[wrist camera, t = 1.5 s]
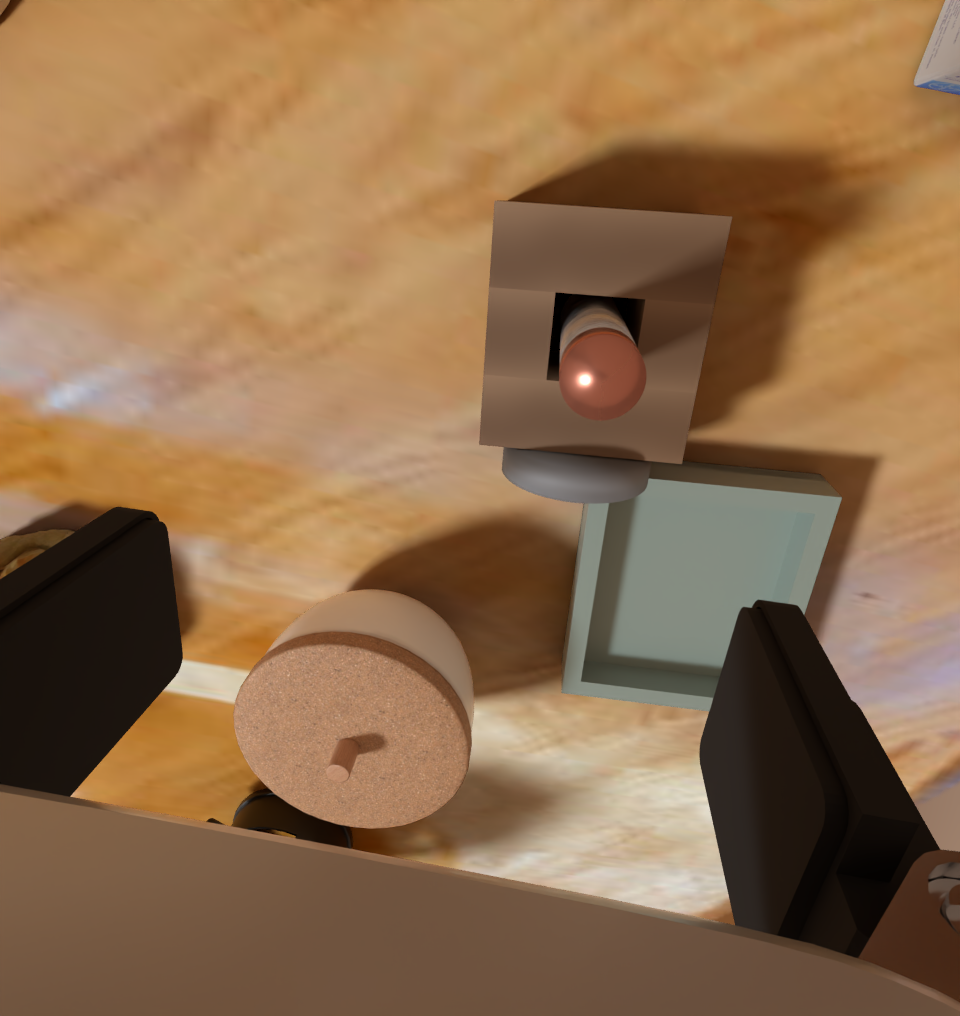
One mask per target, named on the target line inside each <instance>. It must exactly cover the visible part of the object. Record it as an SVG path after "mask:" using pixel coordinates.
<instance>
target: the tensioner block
mask: <svg viewBox="0 0 960 1016" xmlns="http://www.w3.org/2000/svg"><path fill="white" fill-rule="evenodd" d="M731 221H732V217H730V216H720V215H709V214H698V213H683V212H668V211H653V210H638V209H623V208H608V207H593V206H578V205H563V204H548V203H533V202H519V201H495V203H494V219H493V235H492V251H491V267H490V283H489V298H488V314H487V330H486V346H485V362H484V377H483V393H482V409H481V425H480V441H479V445H488V446H499V447H504V450H503V462H502V471H503V474H504V475H505V477H506V478H507V479H508V480H509V481H510V482H512V483H513V484H515V485H516V486H518V487H520V488H522V489H524V490H526V491H528V492H531V493H534V494H536V495H540V496H543V497H547V498H551V499H555V500H560V501H566V502H574V503H589V504H600V503H613V502H620V501H624V500H628V499H631V498H634V497H636V496H638V495H640V494H641V493H643V492H644V491H645V489H646V488H647V484H648V479H649V474H650V468H651V463H652V461H654V462H665V463H675V464H682V461H683V456H684V451H685V446H686V441H687V436H688V431H689V426H690V422H691V417H692V412H693V407H694V402H695V397H696V392H697V387H698V382H699V378H700V373H701V368H702V363H703V358H704V353H705V348H706V343H707V338H708V334H709V329H710V324H711V319H712V314H713V309H714V304H715V299H716V294H717V290H718V285H719V280H720V275H721V270H722V265H723V260H724V255H725V250H726V246H727V241H728V236H729V231H730V226H731ZM556 292H558V293H571V294H584V295H597V296H609V297H622V298H629V304H628V311H627V317H626V326H627V328H628V330H629V332H630V334H631V336H632V338H633V340H634V342H635V344H636V346H637V348H638V350H639V352H640V354H641V356H642V358H643V360H644V363H645V367H646V376H647V378H646V385H645V389H644V392H643V394H642V396H641V398H640V399H639V401H638V402H637V404H636V405H635V406H634V407H633V408H632V409H631V410H629V411H628V412H627V413H625V414H624V415H622V416H620V417H617V418H614V419H610V420H603V421H599V420H591V419H588V418H585V417H582V416H580V415H579V414H577V413H576V412H574V411H573V410H572V409H571V408H570V407H569V406H568V405H567V403H566V402H565V400H564V398H563V396H562V394H561V390H560V385H559V368H560V352H552V351H549V350H550V340H551V331H552V321H553V312H554V302H555V293H556Z"/></svg>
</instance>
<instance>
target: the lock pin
mask: <svg viewBox="0 0 960 1016" xmlns="http://www.w3.org/2000/svg"><path fill="white" fill-rule="evenodd" d="M646 378H647V376H646V367H645V363H644V360H643V358H642V356H641V354H640V352H639V350H638V348H637V346H636V344H635V342H634V340H633V338H632V336H631V334H630V332H629V330H628V328H627V326H626V324H625V322H624V320H623V318H622V316H621V314H620V312H619V310H618V308H617V306H616V304H615V302H614V300H613V299H612V298H611V297H609V296H597V295H584V294H573V295H572V296H571V297H570V298H569V299H568V300H567V301H566V303H565V304H564V307H563V309H562V313H561V332H560V368H559V385H560V390H561V394H562V396H563V398H564V400H565V402H566V403H567V405H568V406H569V407H570V408H571V409H572V410H573V411H574V412H576V413H577V414H579V415H580V416H582V417H585V418H588V419H591V420H599V421H603V420H610V419H614V418H617V417H620V416H622V415H624V414H625V413H627V412H628V411H629V410H631V409H632V408H633V407H634V406H635V405H636V404H637V402H638V401H639V399H640V398H641V396H642V394H643V392H644V389H645V385H646Z"/></svg>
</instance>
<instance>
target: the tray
mask: <svg viewBox="0 0 960 1016" xmlns="http://www.w3.org/2000/svg"><path fill="white" fill-rule="evenodd" d="M841 500H842V497H841V496H840V495H839V494H838V492H837V491H836V490H835V489H834V488H833V487H832V486H831V485H830V484H829V483H828V482H827V481H826V480H825V479H824V478H823V476H822V475H821V474H811V473H801V472H790V471H780V470H769V469H759V468H748V467H738V466H728V465H717V464H707V463H696V462H686V461H682V464H675V463H665V462H654V461H652V463H651V468H650V474H649V479H648V484H647V488H646V489H645V491H644V492H643V493H641V494H640V495H638V496H636V497H634V498H631V499H628V500H624V501H620V502H613V503H600V504H589V503H584V506H583V513H582V520H581V527H580V534H579V541H578V549H577V556H576V563H575V570H574V577H573V584H572V591H571V598H570V606H569V613H568V620H567V627H566V634H565V641H564V648H563V655H562V693H566V694H574V695H582V696H590V697H598V698H606V699H614V700H622V701H631V702H639V703H647V704H655V705H663V706H671V707H679V708H687V709H695V710H703V711H710V708H711V704H712V701H713V698H714V694H715V691H716V687H717V684H718V681H719V677H720V674H721V671H722V667H723V664H724V661H725V657H726V654H727V650H728V647H729V644H730V640H731V637H732V634H733V630H734V627H735V624H736V620H737V617H738V614H739V611H740V610H741V608H742V607H750V608H752V606H753V604H754V603H755V601H757V600H758V599H759V600H766V601H773V602H780V603H787V604H794V605H798V606H799V608H800V609H801V611H802V612H803V614H805V611H806V608H807V605H808V602H809V599H810V596H811V593H812V589H813V586H814V583H815V580H816V577H817V574H818V571H819V568H820V565H821V562H822V558H823V555H824V552H825V549H826V546H827V543H828V540H829V537H830V534H831V531H832V528H833V524H834V521H835V518H836V515H837V512H838V509H839V506H840V503H841Z"/></svg>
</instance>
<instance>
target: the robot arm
mask: <svg viewBox="0 0 960 1016" xmlns="http://www.w3.org/2000/svg"><path fill="white" fill-rule="evenodd" d="M9 2H10V0H0V15H1V14H2V12H3V11H4V10H5V8H6V7H7V5H8V4H9ZM182 658H183V652H182V643H181V635H180V627H179V619H178V611H177V603H176V595H175V587H174V579H173V570H172V562H171V554H170V546H169V538H168V531H167V527H166V525H165V524H164V523H163V522H160V521H159V519H158V517H157V516H156V514H154V513H153V512H151V511H144V510H137V509H130V508H123V507H115V508H113V509H111V510H109V511H108V512H106V513H105V514H103V515H101V516H100V517H98V518H97V519H95V520H93V521H92V522H90V523H89V524H87V525H85V526H84V527H82V528H81V529H79V530H78V531H76V532H74V533H73V534H71V535H70V536H68V537H66V538H65V539H63V540H62V541H60V542H58V543H57V544H55V545H54V546H52V547H50V548H49V549H47V550H46V551H44V552H43V553H41V554H39V555H38V556H36V557H35V558H33V559H31V560H30V561H28V562H27V563H25V564H23V565H22V566H20V567H19V568H17V569H16V570H14V571H12V572H11V573H9V574H8V575H6V576H4V577H3V578H1V579H0V1016H960V852H958V851H949V850H940V848H939V847H938V845H937V843H936V841H935V840H934V838H933V836H932V834H931V833H930V831H929V829H928V827H927V825H926V824H925V822H924V820H923V819H922V817H921V815H920V813H919V811H918V810H917V808H916V806H915V804H914V802H913V801H912V799H911V797H910V795H909V794H908V792H907V790H906V788H905V787H904V785H903V783H902V781H901V779H900V778H899V776H898V774H897V772H896V771H895V769H894V767H893V765H892V764H891V762H890V760H889V758H888V756H887V755H886V753H885V751H884V749H883V748H882V746H881V744H880V742H879V741H878V739H877V737H876V735H875V733H874V732H873V730H872V728H871V726H870V725H869V723H868V721H867V719H866V718H865V716H864V714H863V712H862V710H861V709H860V708H859V707H858V705H857V704H856V703H855V702H853V701H852V700H851V699H850V697H849V695H848V693H847V691H846V690H845V688H844V686H843V684H842V682H841V681H840V679H839V677H838V675H837V673H836V672H835V670H834V668H833V666H832V664H831V663H830V661H829V659H828V657H827V656H826V654H825V652H824V650H823V648H822V647H821V645H820V643H819V641H818V639H817V638H816V636H815V634H814V632H813V630H812V629H811V627H810V625H809V623H808V621H807V620H806V618H805V616H804V614H803V612H802V611H801V609H800V608H799V606H798V605H794V604H787V603H780V602H773V601H766V600H759V599H758V600H757V601H755V603H754V604H753V606H752V608H750V607H742V608H741V610H740V611H739V614H738V617H737V620H736V624H735V627H734V630H733V634H732V637H731V640H730V644H729V647H728V650H727V654H726V657H725V661H724V664H723V667H722V671H721V674H720V677H719V681H718V684H717V687H716V691H715V694H714V698H713V701H712V704H711V708H710V711H709V714H708V718H707V721H706V724H705V728H704V731H703V735H702V738H701V743H700V765H701V770H702V774H703V779H704V783H705V788H706V793H707V797H708V802H709V807H710V811H711V816H712V820H713V825H714V830H715V834H716V839H717V843H718V848H719V853H720V857H721V862H722V866H723V871H724V876H725V880H726V885H727V889H728V894H729V899H730V903H731V908H732V912H733V917H734V921H735V925H731V924H726V923H722V922H717V921H713V920H708V919H704V918H699V917H695V916H690V915H685V914H680V913H675V912H670V911H665V910H660V909H655V908H650V907H645V906H641V905H636V904H631V903H626V902H622V901H617V900H612V899H608V898H603V897H597V896H592V895H587V894H582V893H577V892H572V891H566V890H561V889H556V888H551V887H546V886H541V885H536V884H530V883H525V882H520V881H515V880H510V879H505V878H499V877H494V876H489V875H484V874H479V873H474V872H469V871H463V870H458V869H453V868H448V867H443V866H438V865H433V864H427V863H422V862H417V861H412V860H407V859H401V858H396V857H391V856H386V855H380V854H375V853H370V852H364V851H359V850H354V849H349V848H343V847H338V846H333V845H327V844H322V843H317V842H312V841H306V840H301V839H296V838H290V837H285V836H280V835H274V834H269V833H264V832H258V831H253V830H248V829H242V828H237V827H232V826H226V825H221V824H215V823H210V822H205V821H199V820H194V819H189V818H183V817H178V816H173V815H167V814H162V813H156V812H151V811H145V810H140V809H134V808H129V807H123V806H118V805H112V804H107V803H101V802H96V801H90V800H85V799H79V798H74V797H70V796H71V795H72V794H73V792H74V791H75V790H76V789H77V788H78V787H79V786H80V784H81V783H82V782H83V781H84V780H85V779H86V778H87V776H88V775H89V774H90V773H91V772H92V771H93V770H94V768H95V767H96V766H97V765H98V764H99V763H100V762H101V761H102V759H103V758H104V757H105V756H106V755H107V754H108V753H109V751H110V750H111V749H112V748H113V747H114V746H115V745H116V743H117V742H118V741H119V740H120V739H121V738H122V737H123V735H124V734H125V733H126V732H127V731H128V730H129V729H130V727H131V726H132V725H133V724H134V723H135V722H136V721H137V719H138V718H139V717H140V716H141V715H142V714H143V713H144V711H145V710H146V709H147V708H148V707H149V706H150V705H151V703H152V702H153V701H154V700H155V699H156V698H157V697H158V695H159V694H160V693H161V692H162V691H163V690H164V689H165V687H166V686H167V685H168V684H169V683H170V682H171V681H172V679H173V678H174V677H175V676H176V674H177V673H178V671H179V669H180V667H181V663H182Z"/></svg>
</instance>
